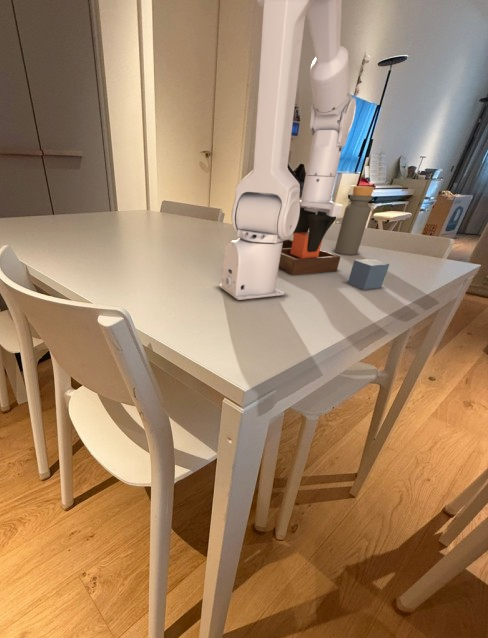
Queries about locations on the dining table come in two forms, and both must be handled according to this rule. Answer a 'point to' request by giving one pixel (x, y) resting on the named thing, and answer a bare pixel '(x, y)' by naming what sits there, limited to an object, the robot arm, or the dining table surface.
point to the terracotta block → (302, 246)
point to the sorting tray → (306, 261)
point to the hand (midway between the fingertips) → (305, 248)
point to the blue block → (368, 273)
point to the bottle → (354, 221)
